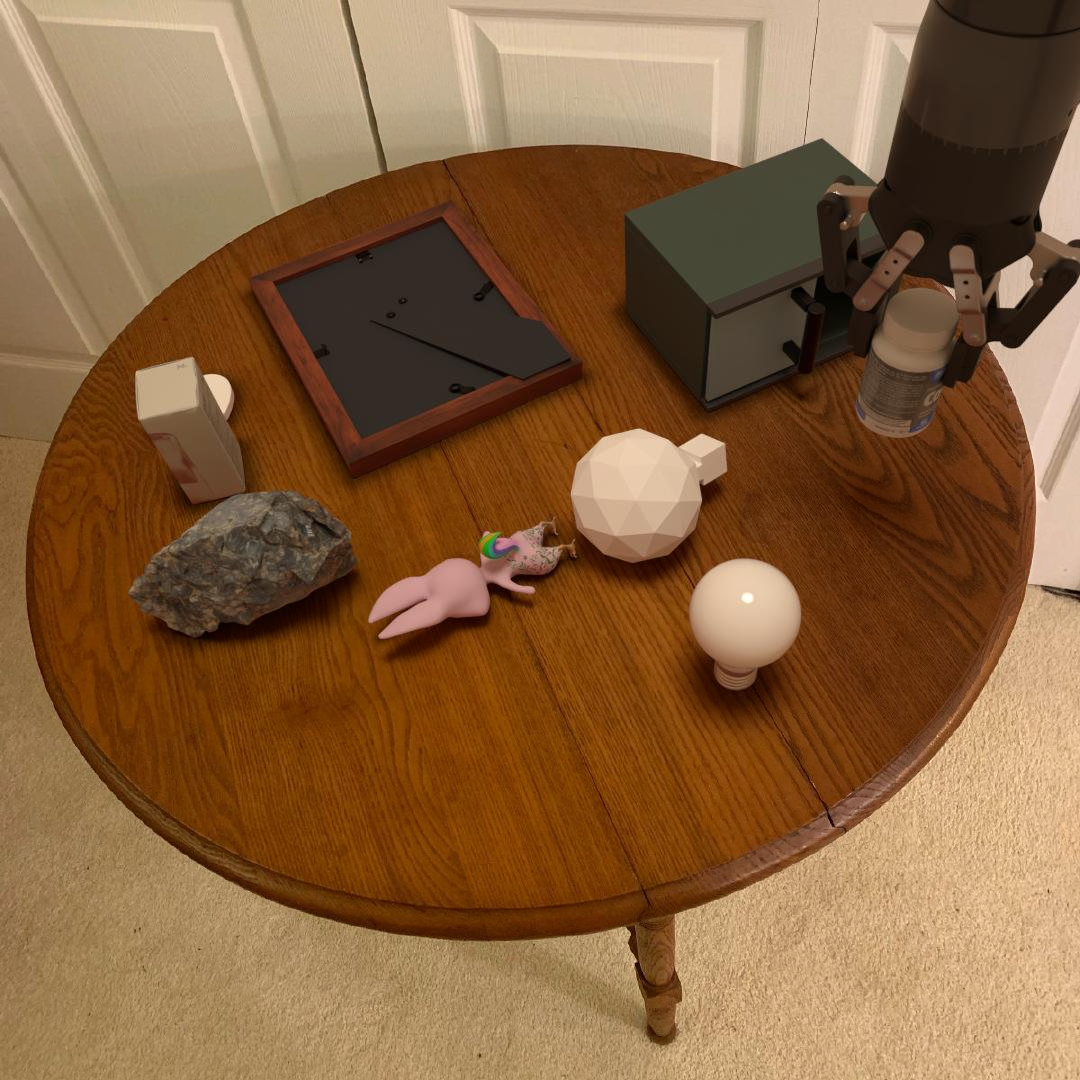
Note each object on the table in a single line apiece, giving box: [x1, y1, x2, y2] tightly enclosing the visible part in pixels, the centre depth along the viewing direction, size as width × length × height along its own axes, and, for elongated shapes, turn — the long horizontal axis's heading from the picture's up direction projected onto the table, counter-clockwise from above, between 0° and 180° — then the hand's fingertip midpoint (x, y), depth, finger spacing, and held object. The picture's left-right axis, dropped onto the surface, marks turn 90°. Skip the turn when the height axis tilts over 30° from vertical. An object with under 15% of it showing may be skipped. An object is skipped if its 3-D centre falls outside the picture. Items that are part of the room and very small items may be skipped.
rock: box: [127, 489, 358, 639], centre depth 66 cm, size 14×10×10 cm
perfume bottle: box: [570, 428, 728, 564], centre depth 68 cm, size 9×9×12 cm
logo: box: [203, 373, 235, 421], centre depth 82 cm, size 6×1×8 cm
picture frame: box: [247, 199, 584, 479], centre depth 84 cm, size 20×2×25 cm
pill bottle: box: [855, 287, 961, 439], centre depth 60 cm, size 5×5×8 cm
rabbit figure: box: [367, 515, 578, 640], centre depth 67 cm, size 6×6×15 cm
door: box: [705, 278, 825, 401], centre depth 73 cm, size 4×9×8 cm, turn 116°
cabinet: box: [623, 137, 904, 413], centre depth 78 cm, size 13×18×10 cm
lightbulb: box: [688, 557, 802, 692], centre depth 59 cm, size 6×6×11 cm
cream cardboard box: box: [134, 356, 247, 505], centre depth 73 cm, size 5×4×10 cm
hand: (908, 362), depth 60 cm, fingers closed on pill bottle, 4 cm apart
